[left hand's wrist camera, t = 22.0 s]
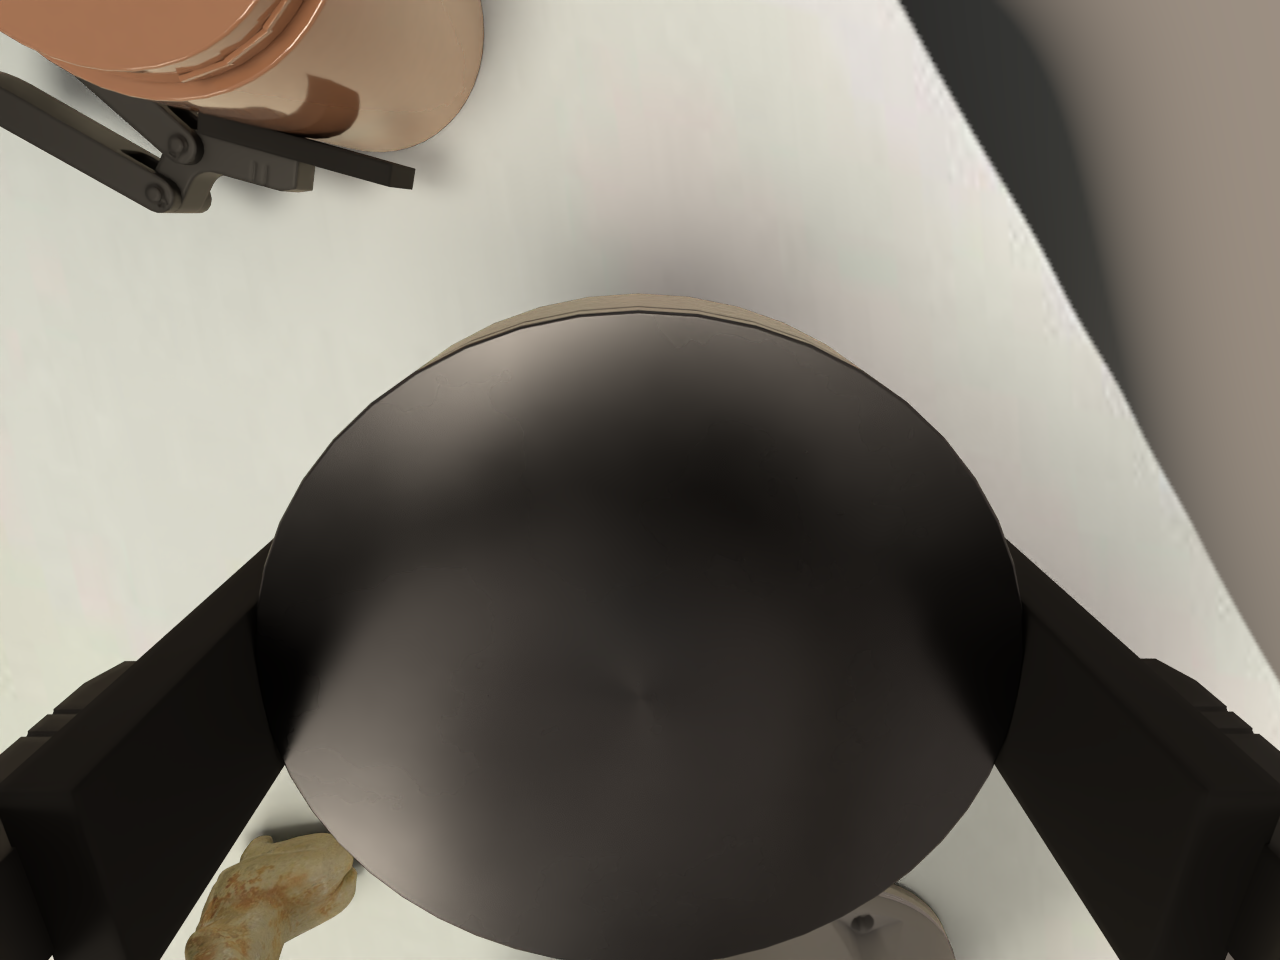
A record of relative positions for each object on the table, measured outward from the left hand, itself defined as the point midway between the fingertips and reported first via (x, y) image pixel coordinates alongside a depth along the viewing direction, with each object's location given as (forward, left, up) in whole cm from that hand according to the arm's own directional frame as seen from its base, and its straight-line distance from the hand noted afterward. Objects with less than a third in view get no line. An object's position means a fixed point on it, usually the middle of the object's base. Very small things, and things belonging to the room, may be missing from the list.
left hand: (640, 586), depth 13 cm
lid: (0, 0, +3) cm, 3 cm away
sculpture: (-11, +35, -23) cm, 43 cm away
